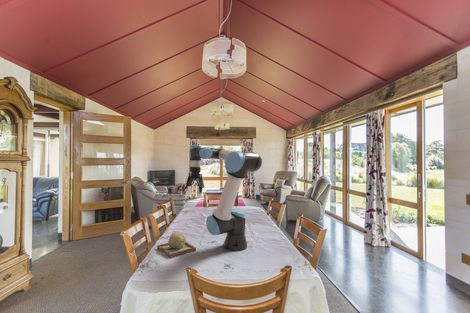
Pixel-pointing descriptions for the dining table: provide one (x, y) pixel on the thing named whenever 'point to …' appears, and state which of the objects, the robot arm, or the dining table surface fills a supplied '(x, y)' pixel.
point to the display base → (176, 250)
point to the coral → (176, 240)
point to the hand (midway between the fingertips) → (194, 196)
